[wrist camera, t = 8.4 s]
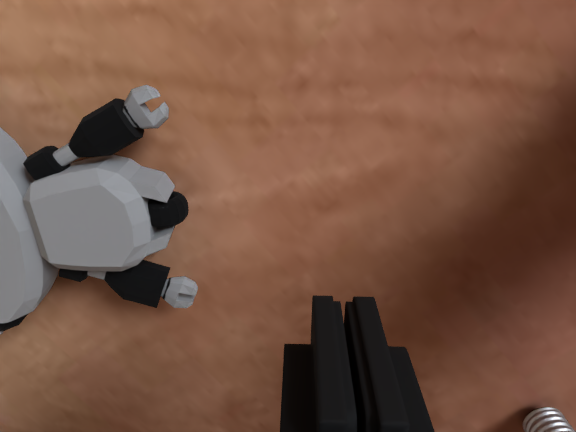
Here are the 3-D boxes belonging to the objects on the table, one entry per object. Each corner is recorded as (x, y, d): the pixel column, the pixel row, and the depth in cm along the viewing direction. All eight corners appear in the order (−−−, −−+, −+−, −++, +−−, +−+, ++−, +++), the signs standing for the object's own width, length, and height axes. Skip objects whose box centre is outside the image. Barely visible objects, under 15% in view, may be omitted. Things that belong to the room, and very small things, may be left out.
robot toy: (177, 68, 20) (-154, 87, 19) (158, 75, 16) (-267, 100, 15) (209, 284, 25) (-52, 308, 24) (201, 333, 20) (-116, 365, 19)
